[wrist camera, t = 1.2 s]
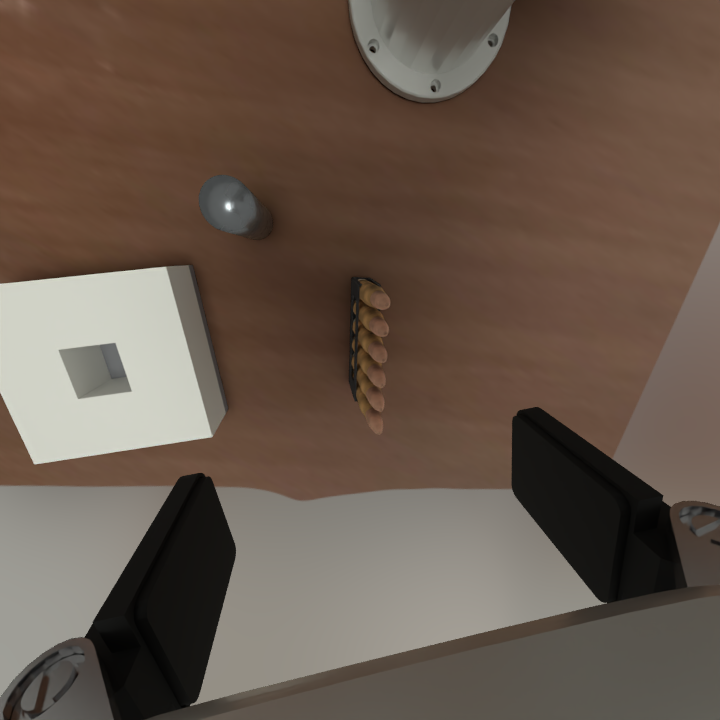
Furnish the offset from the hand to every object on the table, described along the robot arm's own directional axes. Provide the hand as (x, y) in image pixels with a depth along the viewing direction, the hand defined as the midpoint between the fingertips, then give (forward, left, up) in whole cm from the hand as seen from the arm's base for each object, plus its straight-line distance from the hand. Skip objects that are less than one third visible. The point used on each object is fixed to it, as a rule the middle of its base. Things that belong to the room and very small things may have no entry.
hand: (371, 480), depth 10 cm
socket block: (0, -18, -23) cm, 30 cm away
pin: (-10, -5, -23) cm, 26 cm away
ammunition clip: (+1, +3, -24) cm, 24 cm away
